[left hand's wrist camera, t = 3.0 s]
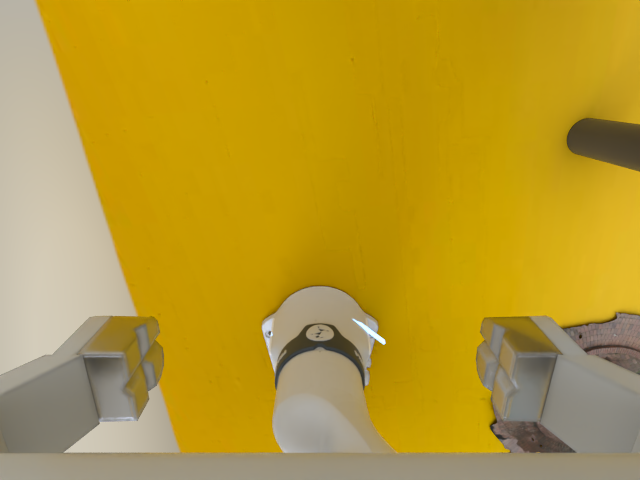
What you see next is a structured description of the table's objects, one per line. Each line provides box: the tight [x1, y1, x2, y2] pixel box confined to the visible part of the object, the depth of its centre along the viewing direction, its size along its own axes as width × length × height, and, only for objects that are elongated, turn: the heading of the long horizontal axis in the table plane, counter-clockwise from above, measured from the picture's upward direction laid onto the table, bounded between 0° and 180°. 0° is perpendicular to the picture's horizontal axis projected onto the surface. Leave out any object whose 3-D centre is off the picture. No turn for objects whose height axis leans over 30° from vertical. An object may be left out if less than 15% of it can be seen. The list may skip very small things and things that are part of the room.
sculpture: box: [490, 313, 640, 453], centre depth 63 cm, size 33×35×16 cm
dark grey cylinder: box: [567, 118, 640, 171], centre depth 46 cm, size 5×5×19 cm
